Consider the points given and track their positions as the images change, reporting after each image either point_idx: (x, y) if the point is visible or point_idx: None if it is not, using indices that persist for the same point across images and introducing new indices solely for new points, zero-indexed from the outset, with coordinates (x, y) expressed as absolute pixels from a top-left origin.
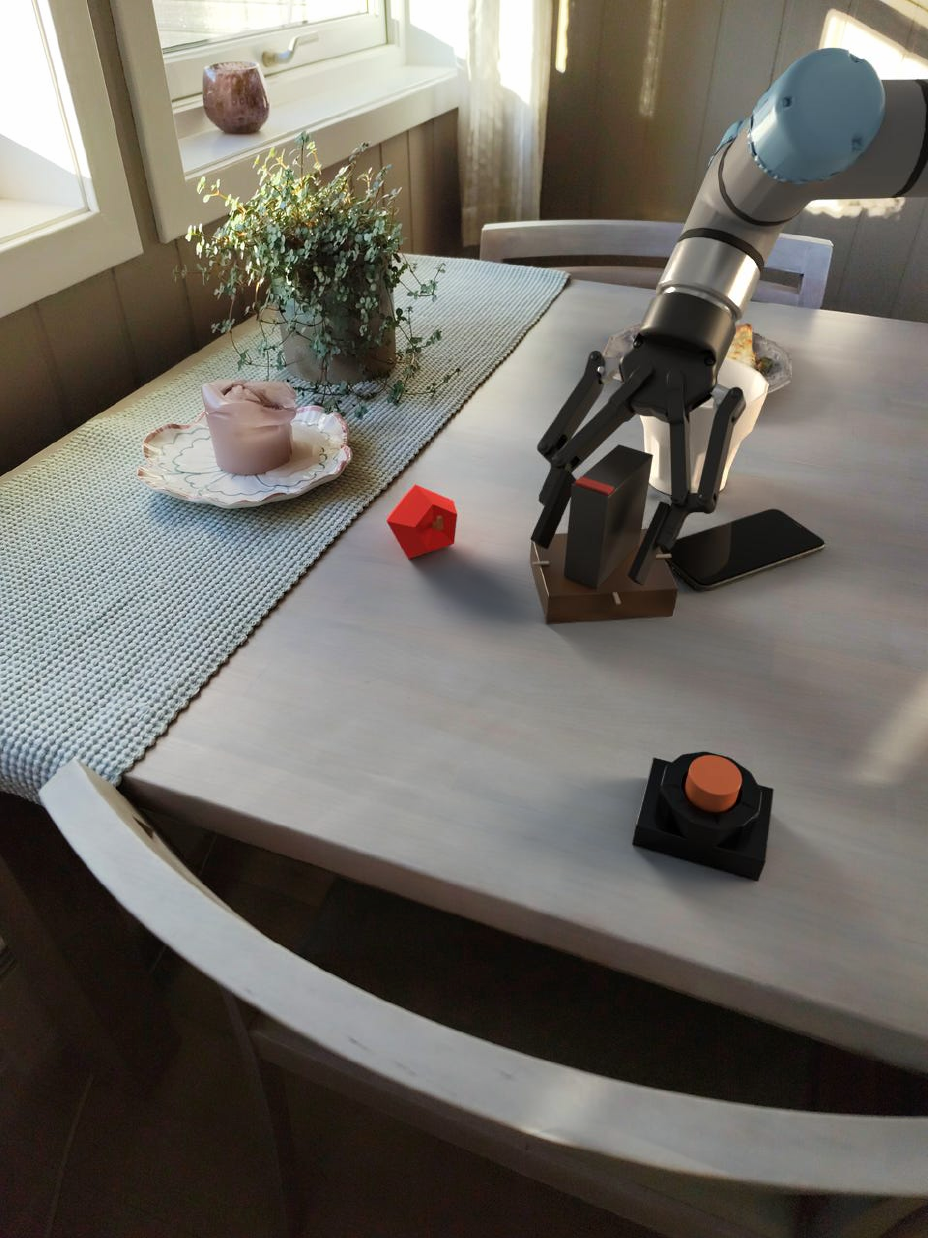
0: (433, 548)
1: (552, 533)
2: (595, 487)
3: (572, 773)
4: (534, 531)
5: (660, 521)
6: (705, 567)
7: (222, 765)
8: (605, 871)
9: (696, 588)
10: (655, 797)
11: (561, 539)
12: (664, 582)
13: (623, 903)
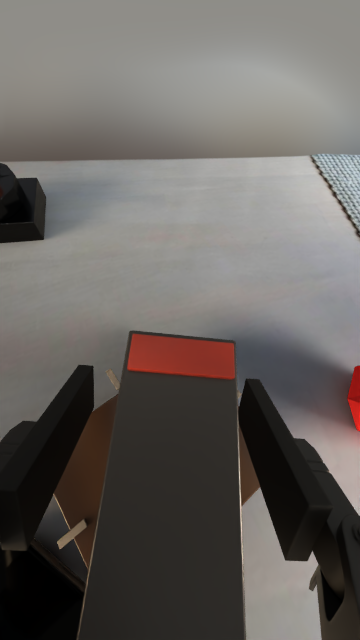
0: (355, 373)
1: (244, 428)
2: (173, 341)
3: (98, 225)
4: (262, 387)
5: (23, 442)
6: (10, 602)
7: (279, 169)
8: (58, 182)
9: None
10: (26, 195)
11: (240, 478)
12: None
13: (44, 171)
